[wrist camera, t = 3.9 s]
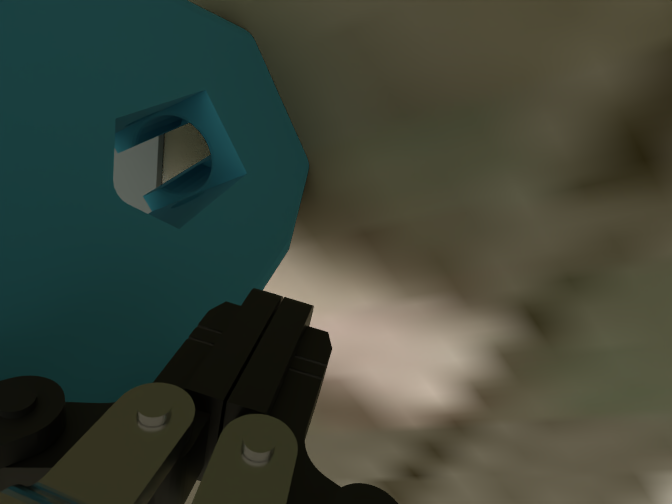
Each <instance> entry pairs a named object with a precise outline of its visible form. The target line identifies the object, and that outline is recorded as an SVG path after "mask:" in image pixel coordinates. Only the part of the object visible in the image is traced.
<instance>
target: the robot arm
mask: <svg viewBox="0 0 672 504" xmlns="http://www.w3.org/2000/svg"><path fill="white" fill-rule="evenodd" d="M313 307H314V306H313V305H309V304H306V303H303V302H300V301H296V300H293V299H290V298H286V297H284V298H283V296H279V295H276V294H273V293H269V292H266V291H263V290H260V289H256V288H253V289H252V290H251V291H250V293H249V294H248V296H247V297H246V299H245V300H244V302H243V303H242V305H241V306H240V305H237V304H233V303H230V302H227V301H226V302H224V303H222V304H220V305H218V306H216V307H214V308H213V309H211V310H209V311H208V312H207V313H206V315H205V316H204V317H203V318H202V320H201V321H200V322H199V324H198V326H197V327H196V328H195V329H194V330H193V331H192V333H191V334H190V335H189V338H188V339H186V340H185V342H184V343H183V344H182V346H181V347H180V348H179V349H178V351H177V352H176V353H175V355H174V356H173V357H172V358H171V360H170V361H169V362H168V364H167V365H166V366H165V367H164V369H163V370H162V371H161V373H160V374H159V375H158V376H157V378H156V379H155V380H154V382H153V383H148V384H143V385H140V386H137V387H135V388H133V389H130V390H129V391H127V392H126V393H124V394H123V395H122V396H121V397H120V398H119V399H118V400H117V401H116V402H111V403H84V402H65V395H64V391H63V389H62V388H61V386H60V385H59V384H57V383H56V382H55V381H53V380H51V379H48V378H46V377H41V376H32V375H30V376H18V377H13V378H8V379H5V380H1V381H0V504H184V503H185V501H186V499H187V498H188V496H189V494H190V492H191V490H192V488H193V486H194V484H195V482H196V480H199V481H201V482H200V485H199V487H198V490H197V492H196V494H195V497H194V499H193V502H192V504H398V503H397V502H396V501H395V500H394V499H393V498H392V497H391V496H390V495H389V494H388V493H386V492H385V491H383V490H381V489H380V488H377V487H375V486H372V485H369V484H363V483H354V484H349V485H346V486H344V487H340V486H338V485H337V484H336V483H334V482H333V481H331V480H330V479H328V478H327V477H326V476H324V475H323V474H322V473H321V472H320V471H319V470H318V469H317V468H316V467H315V466H314V465H313V463H312V462H311V460H310V458H309V456H308V454H307V451H306V448H305V438H306V435H307V431H308V428H309V425H310V422H311V419H312V415H313V412H314V409H315V406H316V403H317V400H318V396H319V393H320V390H321V386H322V382H323V379H324V375H325V372H326V368H327V365H328V361H329V358H330V354H331V351H332V346H331V342H330V338H329V334H328V332H325V331H322V330H319V329H316V328H312V327H309V325H310V321H311V317H312V313H313Z"/></svg>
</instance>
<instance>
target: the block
mask: <svg viewBox="0 0 672 504" xmlns="http://www.w3.org/2000/svg"><path fill="white" fill-rule="evenodd" d="M187 123H191V124H192V125H193V126H194V127H195V128H196V129H197V130H199V132H200V133H201V134H202V136H203V137H204V139H205V141H206V143H207V144H208V147H209V150H210V153H211V155H209V156H208V157H206V158H204V159H203V160H201V161H200V162H198V163H196V164H195V165H193V166H191V167H190V168H188V169H186V170H185V171H183V172H181V173H180V174H178V175H177V176H175V177H173V178H172V179H170V180H168V181H167V182H165V183H163V184H162V185H160V186H159V187H157V188H155V189H154V190H152V191H150V192H149V193H147V194H145V195H144V196H143V197H144V199H145V201H146V202H147V204H148V206H149V207H150V209H151V211H152V212H150V213H149V214H147V213H145V212H143V211H141V210H139V209H137V208H135V207H133V206H131V205H129V204H127V203H126V202H124V201H123V200H122V199H121V198H120V197H119V196H118V194H117V192H116V190H115V188H114V183H113V170H114V148H115V150H116V151H117V153H120V152H122V151H125V150H127V149H129V148H132V147H134V146H136V145H139V144H141V143H143V142H146V141H148V140H150V139H153V138H155V137H157V136H160V135H162V134H164V133H166V132H169V131H171V130H173V129H176V128H178V127H180V126H183V125H185V124H187ZM308 170H309V162H308V159H307V156H306V154H305V152H304V150H303V147H302V145H301V143H300V141H299V138H298V136H297V134H296V132H295V129H294V127H293V125H292V123H291V120H290V118H289V116H288V114H287V111H286V109H285V107H284V105H283V102H282V100H281V98H280V96H279V93H278V91H277V89H276V87H275V85H274V82H273V80H272V78H271V76H270V73H269V71H268V69H267V67H266V64H265V62H264V60H263V58H262V55H261V53H260V51H259V49H258V46H257V44H256V42H255V40H254V38H253V37H252V35H251V34H250V33H249V32H248V31H246V30H245V29H243V28H241V27H239V26H237V25H235V24H233V23H231V22H229V21H227V20H225V19H223V18H221V17H219V16H217V15H215V14H213V13H211V12H209V11H207V10H205V9H203V8H201V7H199V6H197V5H195V4H193V3H191V2H189V1H187V0H0V381H1V380H5V379H8V378H13V377H18V376H30V375H32V376H41V377H46V378H48V379H51V380H53V381H55V382H56V383H57V384H59V385H60V386H61V388H62V389H63V391H64V395H65V402H84V403H111V402H116V401H117V400H118V399H119V398H120V397H121V396H122V395H123V394H124V393H126V392H127V391H129V390H130V389H133V388H135V387H137V386H140V385H143V384H148V383H153V382H154V380H155V379H156V378H157V376H158V375H159V374H160V373H161V371H162V370H163V369H164V367H165V366H166V365H167V364H168V362H169V361H170V360H171V358H172V357H173V356H174V355H175V353H176V352H177V351H178V349H179V348H180V347H181V346H182V344H183V343H184V342H185V340H186V339H188V338H189V335H190V334H191V333H192V331H193V330H194V329H195V328H196V327H197V326H198V324H199V322H200V321H201V320H202V318H203V317H204V316H205V315H206V313H207V312H208V311H209V310H211V309H213V308H214V307H216V306H218V305H220V304H222V303H224V302H226V301H227V302H230V303H233V304H237V305H240V306H241V305H242V303H243V302H244V300H245V299H246V297H247V296H248V294H249V293H250V291H251V290H252V289H253V288H256V289H260V290H263V289H264V287H265V286H266V284H267V283H268V281H269V280H270V278H271V277H272V275H273V273H274V272H275V270H276V269H277V267H278V266H279V264H280V263H281V261H282V260H283V258H284V256H285V255H286V253H287V252H288V250H289V247H290V243H291V239H292V235H293V231H294V227H295V223H296V219H297V215H298V211H299V207H300V203H301V199H302V195H303V191H304V187H305V183H306V179H307V175H308Z"/></svg>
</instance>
